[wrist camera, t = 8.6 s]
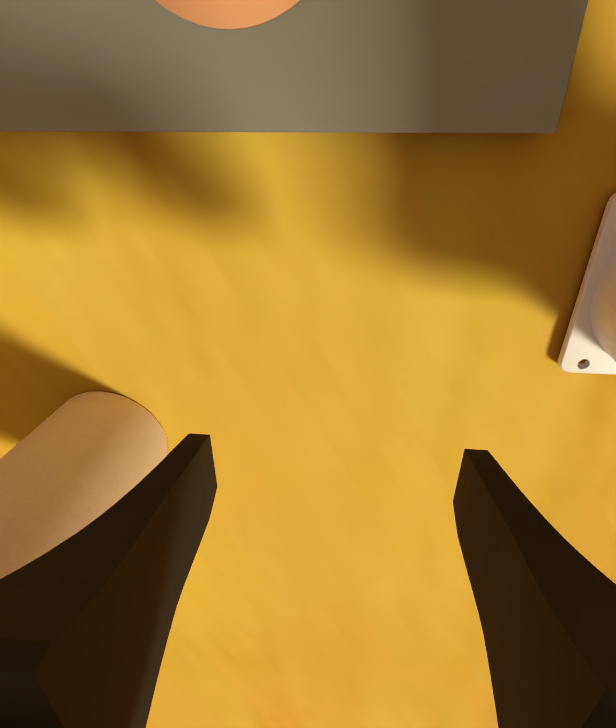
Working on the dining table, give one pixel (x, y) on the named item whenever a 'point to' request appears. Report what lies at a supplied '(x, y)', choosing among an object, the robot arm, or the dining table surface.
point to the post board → (286, 65)
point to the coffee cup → (73, 472)
